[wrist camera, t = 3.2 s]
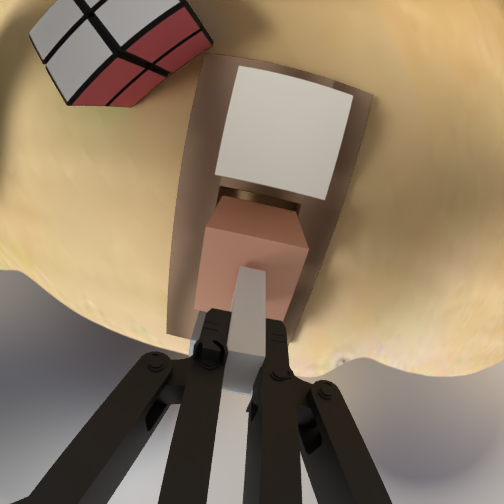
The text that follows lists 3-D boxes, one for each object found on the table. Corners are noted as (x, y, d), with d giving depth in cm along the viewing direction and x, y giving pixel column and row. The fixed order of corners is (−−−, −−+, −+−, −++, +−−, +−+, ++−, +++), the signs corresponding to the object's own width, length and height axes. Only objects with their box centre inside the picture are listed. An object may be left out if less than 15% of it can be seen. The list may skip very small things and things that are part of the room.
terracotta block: (211, 260, 24) (193, 309, 18) (222, 195, 21) (205, 226, 15) (277, 274, 24) (281, 326, 18) (295, 211, 22) (309, 249, 15)
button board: (171, 320, 32) (166, 333, 30) (210, 59, 19) (205, 52, 17) (282, 342, 33) (283, 356, 31) (362, 97, 20) (373, 95, 18)
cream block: (230, 159, 20) (214, 174, 14) (246, 85, 17) (238, 65, 11) (305, 176, 20) (324, 200, 14) (324, 104, 18) (353, 95, 12)
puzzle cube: (216, 44, 19) (188, 1, 10) (130, 109, 21) (66, 109, 12) (163, -13, 15) (121, -57, 6) (88, 49, 18) (25, 34, 9)
